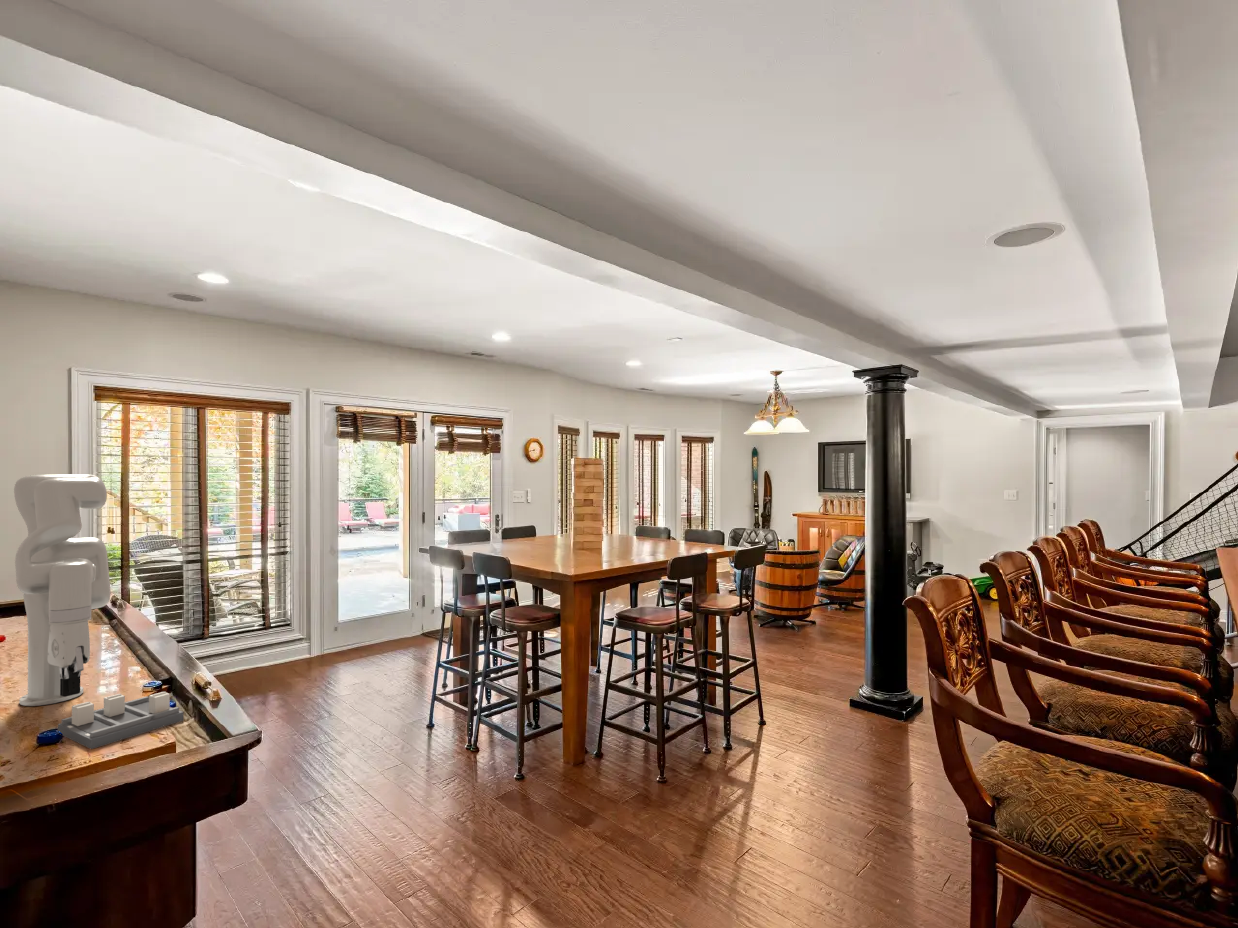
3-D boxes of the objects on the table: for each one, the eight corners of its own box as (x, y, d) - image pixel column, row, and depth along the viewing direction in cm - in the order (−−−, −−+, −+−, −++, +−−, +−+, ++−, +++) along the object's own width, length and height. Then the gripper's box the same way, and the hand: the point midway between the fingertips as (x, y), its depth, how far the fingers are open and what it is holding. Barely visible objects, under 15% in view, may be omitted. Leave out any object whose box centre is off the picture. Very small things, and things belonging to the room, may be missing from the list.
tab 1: (71, 723, 143) (71, 704, 143) (87, 718, 146) (88, 700, 146) (77, 726, 142) (77, 706, 142) (93, 721, 145) (93, 702, 145)
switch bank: (57, 732, 144) (57, 719, 144) (148, 707, 159) (148, 695, 159) (91, 749, 135) (91, 734, 135) (183, 720, 151) (183, 707, 151)
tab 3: (148, 712, 150) (149, 694, 150) (163, 708, 153) (163, 690, 153) (155, 714, 148) (155, 696, 149) (169, 710, 151) (169, 692, 151)
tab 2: (103, 714, 149) (103, 696, 149) (118, 710, 151) (118, 692, 151) (109, 717, 147) (109, 698, 147) (124, 712, 150) (124, 694, 150)
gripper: (36, 615, 148) (36, 695, 147) (63, 621, 141) (63, 704, 140) (76, 610, 155) (76, 685, 154) (104, 614, 147) (104, 694, 146)
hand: (70, 694), depth 147 cm, fingers closed
